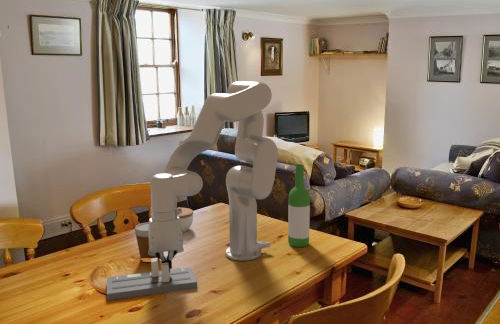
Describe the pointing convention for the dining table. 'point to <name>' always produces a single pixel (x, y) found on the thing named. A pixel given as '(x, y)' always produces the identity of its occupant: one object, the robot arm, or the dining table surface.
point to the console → (149, 283)
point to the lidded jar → (186, 218)
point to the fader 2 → (165, 272)
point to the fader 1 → (154, 267)
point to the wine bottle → (299, 211)
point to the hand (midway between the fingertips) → (166, 271)
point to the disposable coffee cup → (143, 240)
